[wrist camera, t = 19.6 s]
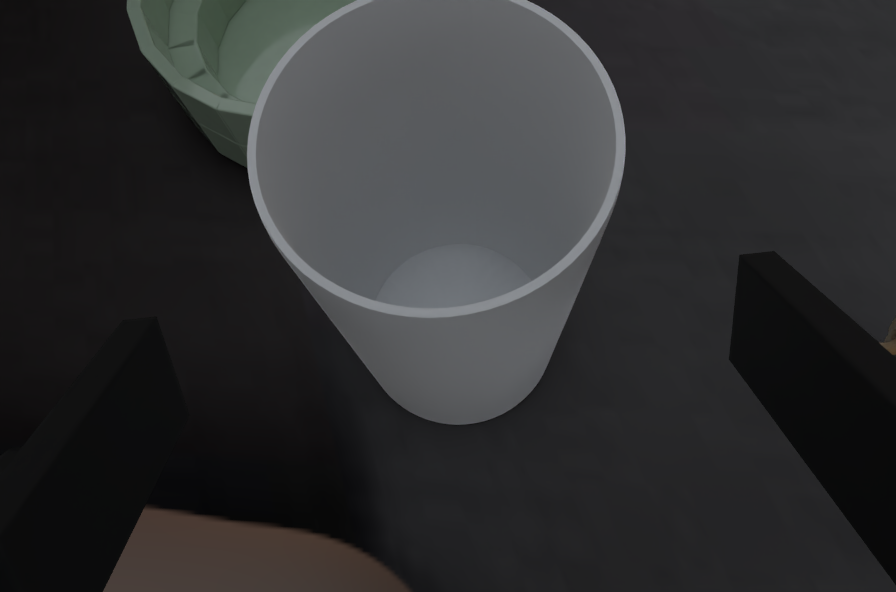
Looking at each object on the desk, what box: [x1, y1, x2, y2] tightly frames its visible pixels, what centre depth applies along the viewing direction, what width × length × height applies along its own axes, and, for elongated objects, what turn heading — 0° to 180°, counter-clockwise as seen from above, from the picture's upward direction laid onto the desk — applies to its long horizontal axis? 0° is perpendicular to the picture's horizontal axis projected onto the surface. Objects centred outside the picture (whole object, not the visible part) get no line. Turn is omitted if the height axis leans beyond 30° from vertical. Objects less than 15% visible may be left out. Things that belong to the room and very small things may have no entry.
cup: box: [247, 0, 625, 425], centre depth 22 cm, size 8×8×16 cm
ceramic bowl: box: [127, 0, 356, 168], centre depth 32 cm, size 14×14×6 cm
